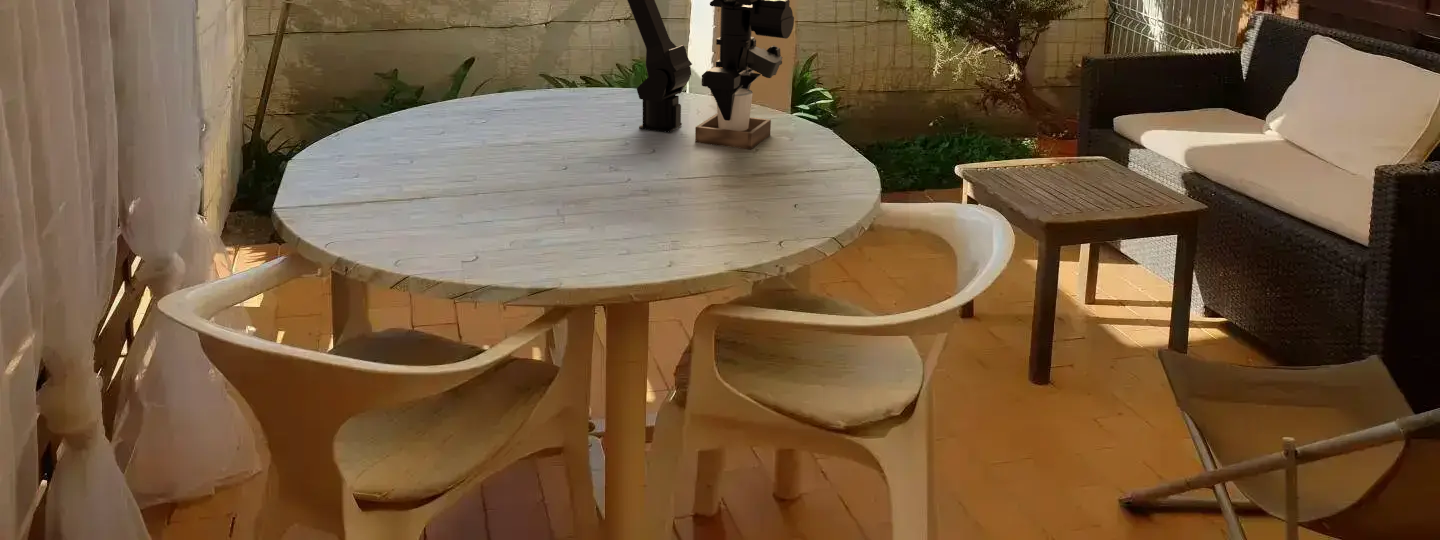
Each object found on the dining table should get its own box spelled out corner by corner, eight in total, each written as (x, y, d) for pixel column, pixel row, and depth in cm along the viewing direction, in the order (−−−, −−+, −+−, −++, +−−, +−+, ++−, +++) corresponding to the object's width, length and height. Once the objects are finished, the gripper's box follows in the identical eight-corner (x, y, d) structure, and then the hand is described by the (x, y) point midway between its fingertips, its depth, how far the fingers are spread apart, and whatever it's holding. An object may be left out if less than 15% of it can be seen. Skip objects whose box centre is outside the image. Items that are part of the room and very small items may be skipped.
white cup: (753, 123, 239) (754, 87, 237) (750, 133, 233) (751, 96, 230) (717, 122, 240) (717, 85, 237) (713, 131, 234) (713, 94, 231)
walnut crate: (695, 142, 234) (695, 126, 233) (716, 128, 244) (716, 113, 243) (751, 149, 231) (751, 133, 230) (770, 135, 240) (770, 119, 239)
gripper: (761, 46, 219) (757, 133, 225) (793, 28, 236) (789, 109, 241) (701, 40, 223) (699, 126, 229) (737, 22, 239) (735, 103, 245)
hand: (733, 116), depth 236 cm, fingers closed on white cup, 6 cm apart
